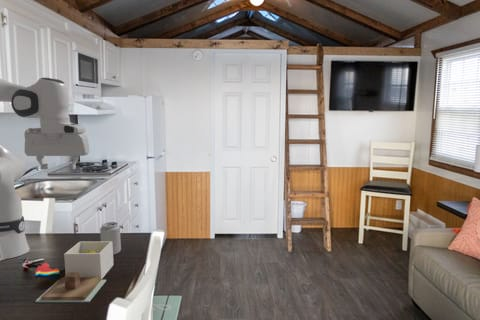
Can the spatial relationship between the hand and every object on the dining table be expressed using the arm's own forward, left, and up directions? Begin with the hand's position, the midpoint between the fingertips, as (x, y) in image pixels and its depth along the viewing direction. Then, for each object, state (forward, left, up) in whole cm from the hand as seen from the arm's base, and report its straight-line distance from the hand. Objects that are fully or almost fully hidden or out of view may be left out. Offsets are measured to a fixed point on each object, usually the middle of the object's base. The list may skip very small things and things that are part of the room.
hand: (58, 169), depth 123 cm
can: (+9, +20, -37) cm, 43 cm away
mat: (+8, -12, -37) cm, 40 cm away
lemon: (+8, +2, -37) cm, 38 cm away
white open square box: (+8, +2, -37) cm, 38 cm away
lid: (+8, -12, -37) cm, 39 cm away
